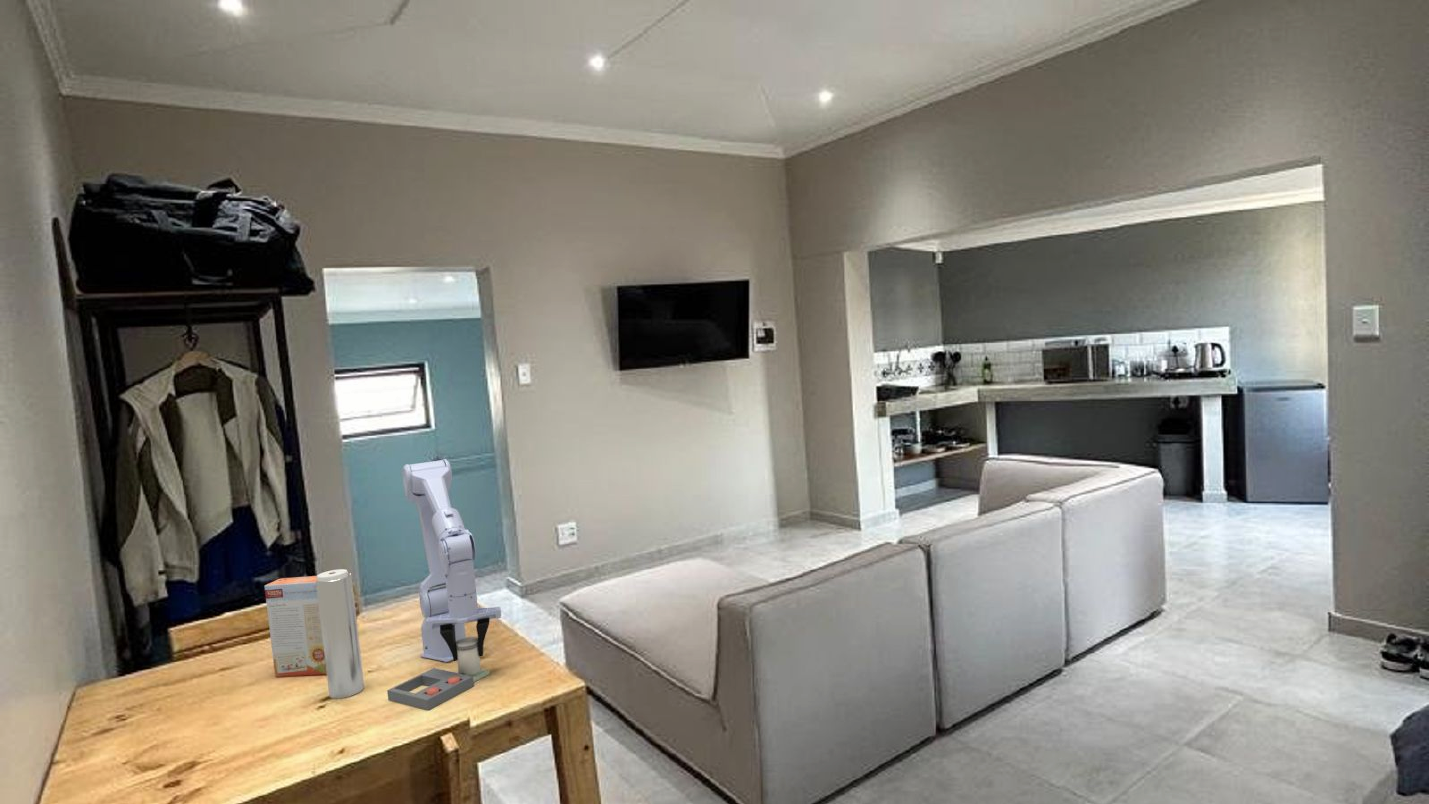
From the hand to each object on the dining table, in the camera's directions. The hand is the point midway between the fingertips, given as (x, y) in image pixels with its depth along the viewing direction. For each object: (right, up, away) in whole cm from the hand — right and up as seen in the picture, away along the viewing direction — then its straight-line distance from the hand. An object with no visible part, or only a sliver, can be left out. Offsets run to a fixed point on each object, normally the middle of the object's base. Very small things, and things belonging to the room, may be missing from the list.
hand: (468, 656), depth 154 cm
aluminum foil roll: (-24, -7, -2) cm, 25 cm away
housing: (-5, -5, -6) cm, 10 cm away
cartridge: (0, -3, 0) cm, 3 cm away
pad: (0, -4, 0) cm, 4 cm away
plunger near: (-3, -5, -10) cm, 12 cm away
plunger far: (-1, -4, -6) cm, 7 cm away
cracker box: (-39, -7, +11) cm, 41 cm away
